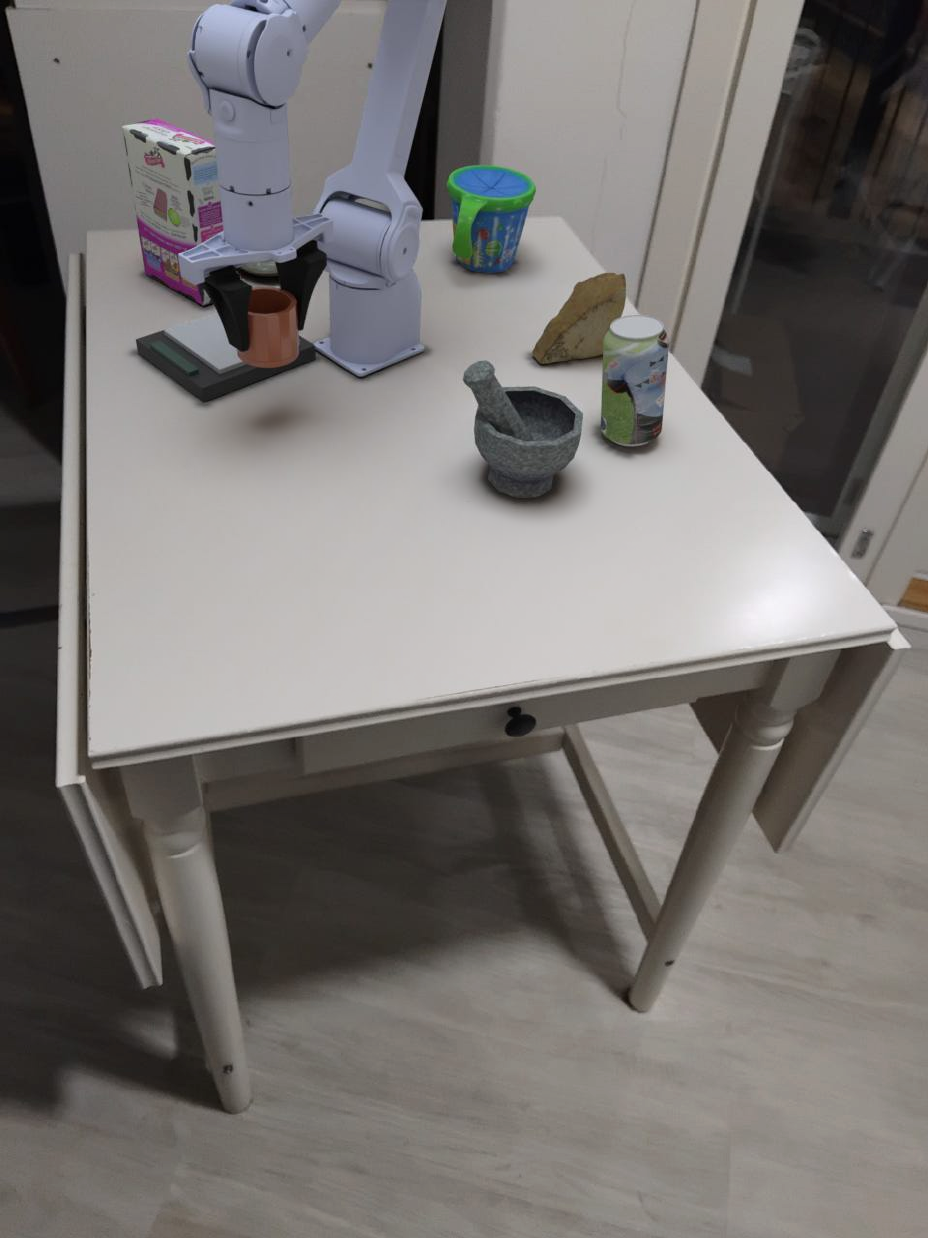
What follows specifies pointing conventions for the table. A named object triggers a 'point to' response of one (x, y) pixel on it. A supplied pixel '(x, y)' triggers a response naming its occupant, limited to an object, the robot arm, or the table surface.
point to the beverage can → (634, 380)
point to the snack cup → (488, 215)
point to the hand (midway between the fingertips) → (266, 336)
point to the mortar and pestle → (522, 432)
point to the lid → (261, 268)
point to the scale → (207, 357)
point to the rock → (583, 320)
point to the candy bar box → (172, 198)
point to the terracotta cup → (271, 328)
